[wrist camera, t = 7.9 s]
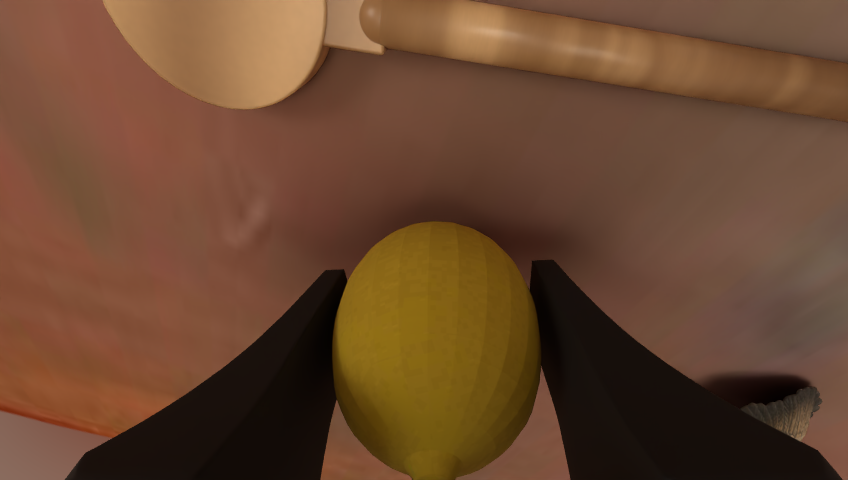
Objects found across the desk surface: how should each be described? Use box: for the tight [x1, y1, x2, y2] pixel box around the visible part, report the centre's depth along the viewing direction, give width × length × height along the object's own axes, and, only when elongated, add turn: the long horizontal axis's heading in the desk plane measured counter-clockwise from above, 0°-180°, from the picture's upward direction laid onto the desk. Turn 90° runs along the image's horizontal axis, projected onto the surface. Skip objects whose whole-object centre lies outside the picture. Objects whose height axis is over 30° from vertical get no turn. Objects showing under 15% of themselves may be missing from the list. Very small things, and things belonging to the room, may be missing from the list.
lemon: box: [332, 221, 541, 480], centre depth 11 cm, size 6×6×8 cm
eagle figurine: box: [740, 387, 822, 441], centre depth 16 cm, size 8×7×9 cm
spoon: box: [102, 0, 848, 122], centre depth 9 cm, size 20×5×1 cm, turn 82°
